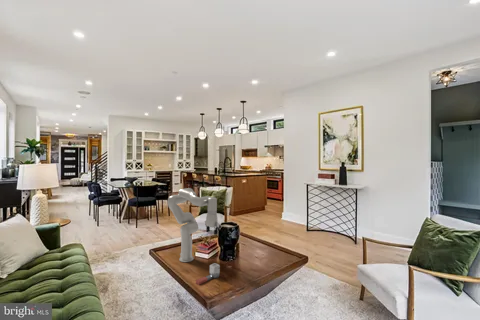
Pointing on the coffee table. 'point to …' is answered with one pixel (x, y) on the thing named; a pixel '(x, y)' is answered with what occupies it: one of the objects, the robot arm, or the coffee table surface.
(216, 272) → the socket
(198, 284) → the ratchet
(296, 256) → the coffee table surface
